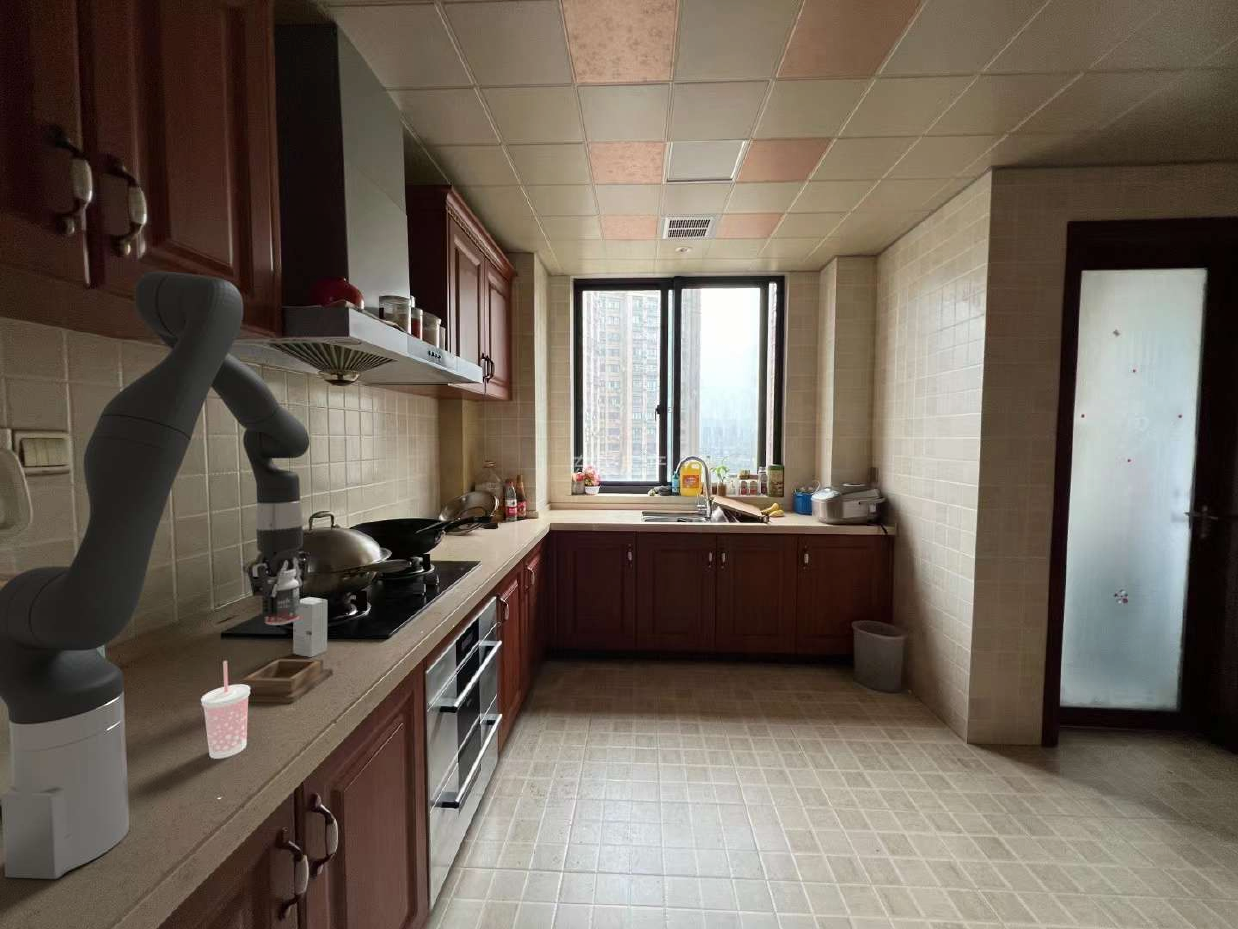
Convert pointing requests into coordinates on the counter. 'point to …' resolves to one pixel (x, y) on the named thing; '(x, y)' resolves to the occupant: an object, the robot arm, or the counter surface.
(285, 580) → the pill bottle
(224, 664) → the beverage cup
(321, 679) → the wooden tray
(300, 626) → the skincare box
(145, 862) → the counter surface
